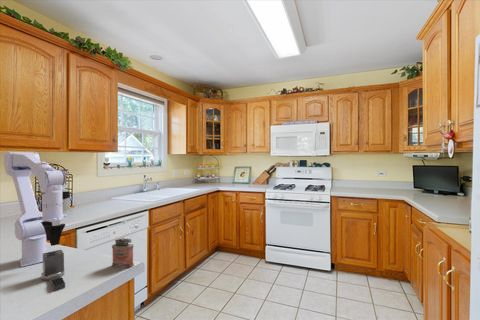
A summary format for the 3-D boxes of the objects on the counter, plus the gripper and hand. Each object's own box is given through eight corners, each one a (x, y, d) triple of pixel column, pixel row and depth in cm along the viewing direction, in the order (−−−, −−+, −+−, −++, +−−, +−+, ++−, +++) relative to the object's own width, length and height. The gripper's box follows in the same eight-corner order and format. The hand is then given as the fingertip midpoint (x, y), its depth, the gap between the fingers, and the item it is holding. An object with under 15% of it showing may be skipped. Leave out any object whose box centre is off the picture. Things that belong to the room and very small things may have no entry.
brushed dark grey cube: (42, 271, 80) (42, 253, 80) (61, 266, 83) (61, 249, 83) (44, 276, 76) (44, 257, 76) (64, 271, 80) (63, 253, 80)
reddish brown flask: (109, 267, 86) (109, 239, 86) (116, 263, 89) (115, 236, 89) (130, 268, 84) (129, 240, 84) (135, 264, 88) (135, 237, 88)
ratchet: (40, 276, 80) (40, 264, 80) (62, 270, 84) (62, 258, 84) (46, 293, 69) (46, 279, 69) (71, 285, 73) (71, 272, 73)
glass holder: (73, 210, 190) (73, 191, 190) (55, 214, 176) (55, 194, 176) (64, 210, 192) (64, 191, 192) (46, 214, 178) (46, 193, 178)
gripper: (70, 205, 83) (71, 244, 83) (62, 200, 93) (63, 235, 93) (44, 208, 78) (44, 249, 78) (38, 203, 88) (39, 239, 88)
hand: (53, 242), depth 85 cm, fingers open, 7 cm apart
